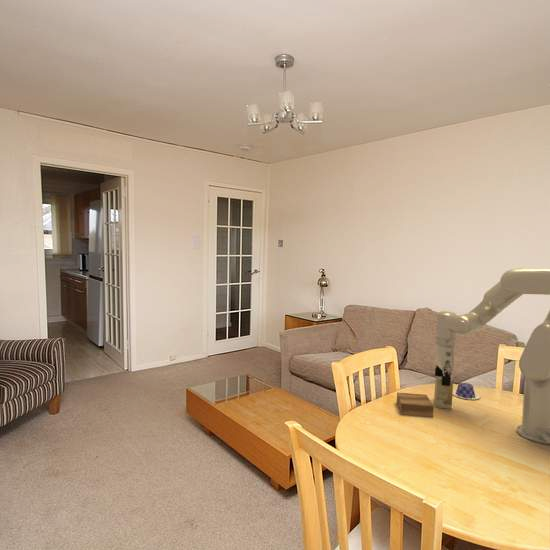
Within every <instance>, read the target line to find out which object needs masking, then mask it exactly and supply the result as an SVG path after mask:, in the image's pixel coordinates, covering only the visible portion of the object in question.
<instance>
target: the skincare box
mask: <svg viewBox="0 0 550 550" xmlns="http://www.w3.org/2000/svg"><path fill="white" fill-rule="evenodd" d="M434 383H435V384H434V396H433V406H435V408H440V409H448V410H449V409H450V410H451V409H452V407H453V406H452V405H453V394H452V393H453V390H454V380H453V378H452V377H451V381H450V386H443V385H442V377H440V376H436V377H435V382H434Z"/></svg>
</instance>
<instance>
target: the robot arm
mask: <svg viewBox="0 0 550 550" xmlns="http://www.w3.org/2000/svg"><path fill="white" fill-rule="evenodd" d="M523 295H543V296H544V295H545V296H546V295H547V296H548V295H549V296H550V268H542V269H541V268H538V269H537V268H536V269H535V268H534V269H533V268H532V269H525V268H512V269H509V270H506V271H505V272H504V273H503V274H501V277H500V281H498V282H496V284H494V285H493V286H492V287H491V288H490V289H488V290H487V291H486V292H485V293H484V295H483V297H482V301H480V303H478V305H476V306H475V307H474V308H473V309H471V310H470V311H469V312H468V313H465V314H459V315H457V314H456V313H455V312H453V311H439V312H437V315H436V326H435V327H436V329H435V339H434V341H435V342H434V344H435V345H436V348H435V361H434V362H435V369H434V370H435V371H434V377H435V378H436V376H440V377H442V385H443V386H450V381H451V378H452V372H453V371H454V369H455V367H454V366H455V348H454V347H455V346H456V336H457V334H459V335H468V334H471V333H474V332H476V331H478V330H480V329H481V328H482V327H484V326H485V325H487V324H488V323H489V322H490V321H492V320H493V319H494V318H495V317H496V316H498V315H499V314H500V313H502V312H503V311H504V310H505V309H506V308H507V307H508V306H510V305H512V304H513V303H514V302H515V301H516V300H517V299H519V298H520V297H522V296H523ZM456 333H457V334H456ZM518 368H519V371H520V372H521V374H522V375H523V376H524V384H523V400H522V402H523V403H522V414H521V415H522V416H521V418H522V419H521V420H522V421H521V424H519V425H517V426H516V432H517V434H519V435H520V436H521V437H523V438H525V439H527V440H528V441H529V440H530V441H532V442H536V443H540V444H546V445H550V309H549V311H548V313H547V315H546V317H545V318H544V320H543V322H542V323H540V324H539V325H537V326H536V327H535V328H534V329H533V330H532V332H531V333H530V336H529V338H528V341H527V342H526V345H525V347H524V349H523V352H522V353H521V356H520V358H519V362H518Z"/></svg>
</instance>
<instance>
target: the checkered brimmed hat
mask: <svg viewBox="0 0 550 550" xmlns="http://www.w3.org/2000/svg"><path fill="white" fill-rule="evenodd" d="M452 396H455V397H458V396H459V397H458V398H460V399H464V400H466V399H469V398H470V399H469V400H473V399H474V398H475V399H474V400H479V399H480V398H481V395H480V394H479V393H477V392H475V388H474V386H473V384H470V383H467V382H460V383H458V385H457V388H456V389H453V393H452ZM462 397H463V398H462ZM465 398H466V399H465ZM472 398H473V399H472Z"/></svg>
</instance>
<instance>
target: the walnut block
mask: <svg viewBox="0 0 550 550" xmlns="http://www.w3.org/2000/svg"><path fill="white" fill-rule="evenodd" d="M396 405H398V406H397V409H398V410H400V411H399V412H400V413H401V414H400V416H405V415H407V416H408V417H417V416H418V417H419V418H430V419H432V418H434V404H433V403H432V402H431V399H430V397H429V396H428V395H427V394H425V393H423V394H422V393H421V394H420V393H410V392H409V393H408V392H406V393H405V392H396Z"/></svg>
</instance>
